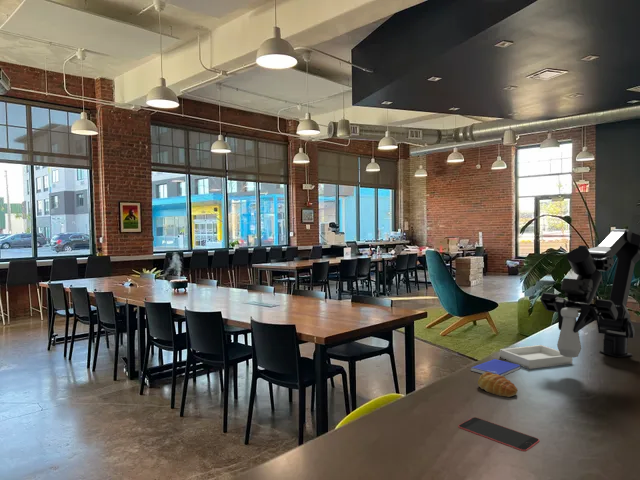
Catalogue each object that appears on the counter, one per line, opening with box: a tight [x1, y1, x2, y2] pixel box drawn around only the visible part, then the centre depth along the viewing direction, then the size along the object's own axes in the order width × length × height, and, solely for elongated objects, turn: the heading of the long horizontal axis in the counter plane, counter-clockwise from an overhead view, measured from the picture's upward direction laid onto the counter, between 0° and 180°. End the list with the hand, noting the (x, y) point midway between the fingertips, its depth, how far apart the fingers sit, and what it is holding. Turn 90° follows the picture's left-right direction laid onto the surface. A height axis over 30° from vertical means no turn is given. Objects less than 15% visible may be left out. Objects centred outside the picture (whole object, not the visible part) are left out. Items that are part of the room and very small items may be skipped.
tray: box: [499, 344, 573, 370], centre depth 139 cm, size 16×12×2 cm
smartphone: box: [457, 417, 541, 452], centre depth 91 cm, size 7×1×14 cm
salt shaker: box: [556, 308, 582, 359], centre depth 126 cm, size 6×6×13 cm
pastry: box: [477, 372, 518, 398], centre depth 113 cm, size 9×7×4 cm
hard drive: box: [470, 358, 521, 377], centre depth 130 cm, size 2×8×12 cm
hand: (566, 330), depth 125 cm, fingers closed on salt shaker, 3 cm apart
